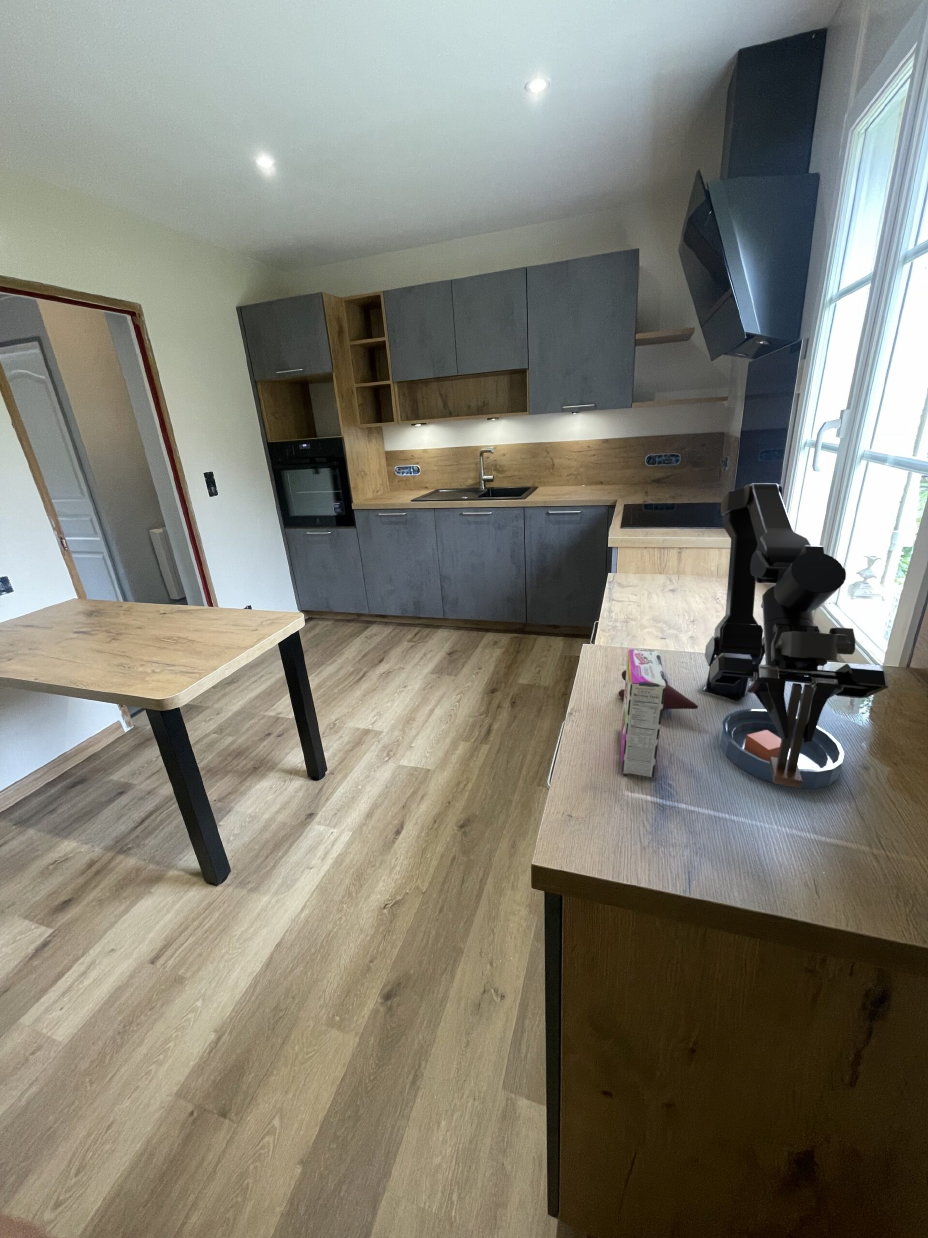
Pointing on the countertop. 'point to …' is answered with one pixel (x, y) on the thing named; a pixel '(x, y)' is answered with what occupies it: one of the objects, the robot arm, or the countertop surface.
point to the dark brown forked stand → (788, 768)
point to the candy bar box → (642, 712)
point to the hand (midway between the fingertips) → (796, 740)
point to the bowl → (815, 757)
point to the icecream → (669, 697)
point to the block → (763, 744)
